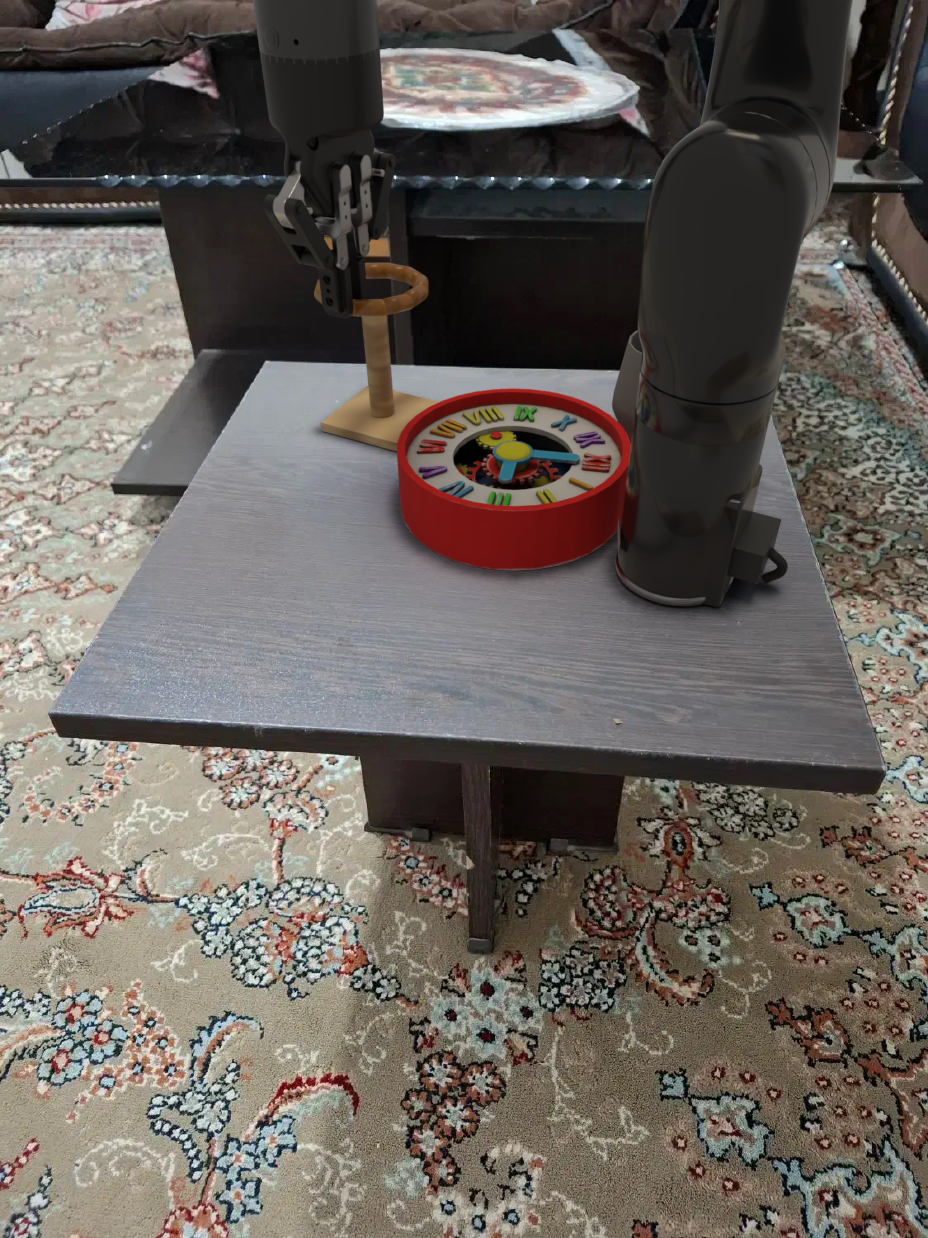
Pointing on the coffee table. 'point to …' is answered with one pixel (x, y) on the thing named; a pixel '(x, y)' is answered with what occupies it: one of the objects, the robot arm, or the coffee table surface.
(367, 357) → the wooden peg stand
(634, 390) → the cup
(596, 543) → the toy clock
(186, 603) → the coffee table surface
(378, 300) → the ring
